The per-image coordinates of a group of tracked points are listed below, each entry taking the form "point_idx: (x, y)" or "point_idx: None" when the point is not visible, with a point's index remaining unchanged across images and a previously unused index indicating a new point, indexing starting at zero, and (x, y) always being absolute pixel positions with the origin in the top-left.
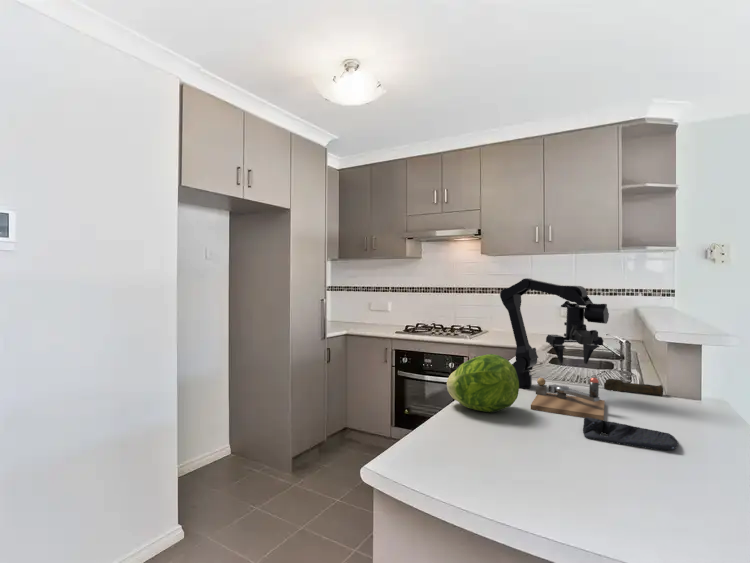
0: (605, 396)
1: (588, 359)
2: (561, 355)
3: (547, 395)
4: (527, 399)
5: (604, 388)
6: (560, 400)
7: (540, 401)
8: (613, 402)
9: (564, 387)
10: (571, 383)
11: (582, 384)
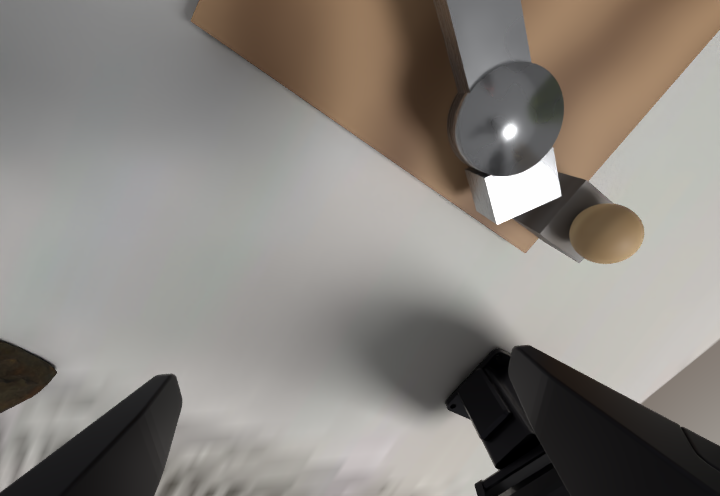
0: (109, 230)
1: (99, 423)
2: (653, 422)
3: None
4: (616, 177)
5: (55, 371)
6: None
7: (666, 34)
8: (104, 88)
9: (500, 108)
10: (214, 450)
11: None
